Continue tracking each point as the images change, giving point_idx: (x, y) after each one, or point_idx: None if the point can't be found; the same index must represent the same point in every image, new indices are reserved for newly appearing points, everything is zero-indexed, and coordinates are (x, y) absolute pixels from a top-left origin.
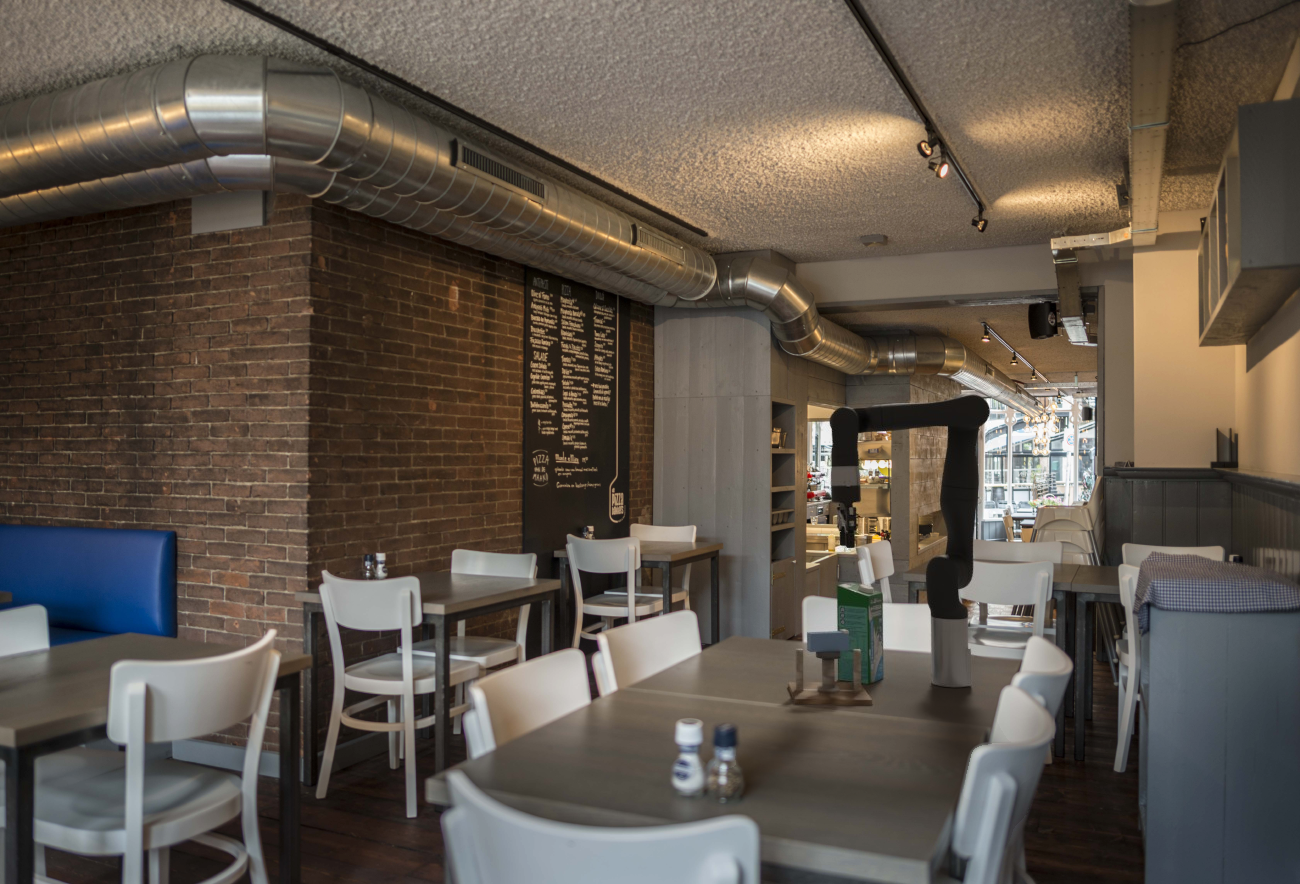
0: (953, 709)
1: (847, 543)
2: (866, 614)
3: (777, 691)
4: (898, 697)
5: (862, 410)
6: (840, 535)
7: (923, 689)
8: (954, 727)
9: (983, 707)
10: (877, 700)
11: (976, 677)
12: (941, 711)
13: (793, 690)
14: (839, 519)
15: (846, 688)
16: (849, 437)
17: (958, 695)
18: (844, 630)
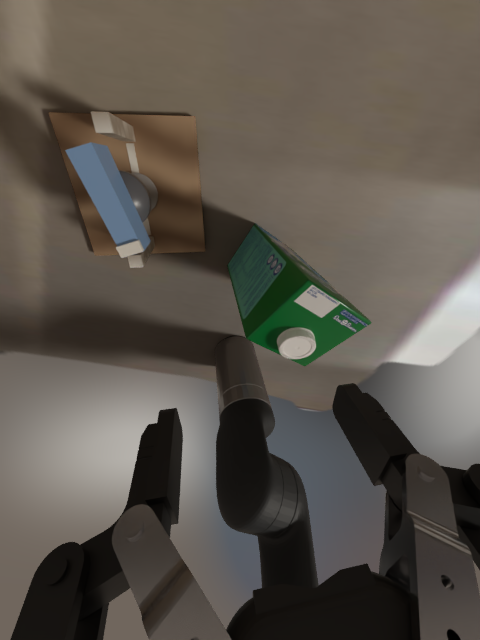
0: (108, 339)
1: (156, 433)
2: (242, 311)
3: (151, 84)
4: (154, 291)
5: None
6: (372, 433)
7: (204, 323)
8: (16, 329)
9: (128, 365)
10: (128, 263)
11: (266, 375)
12: (93, 327)
13: (122, 118)
14: (414, 608)
15: (161, 226)
16: None
17: (179, 351)
18: (124, 249)
